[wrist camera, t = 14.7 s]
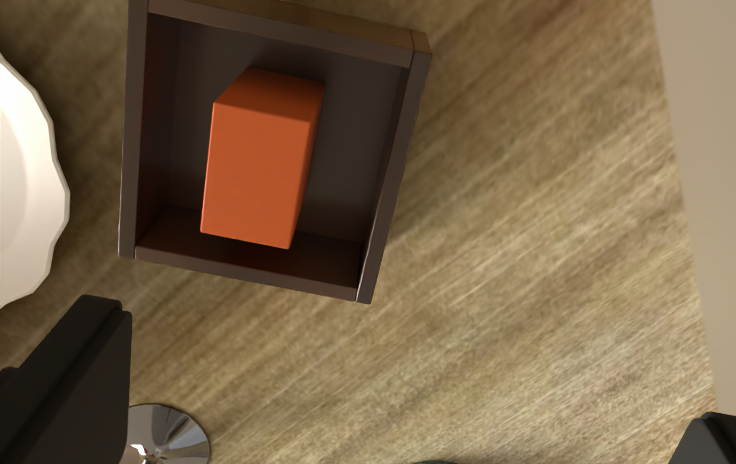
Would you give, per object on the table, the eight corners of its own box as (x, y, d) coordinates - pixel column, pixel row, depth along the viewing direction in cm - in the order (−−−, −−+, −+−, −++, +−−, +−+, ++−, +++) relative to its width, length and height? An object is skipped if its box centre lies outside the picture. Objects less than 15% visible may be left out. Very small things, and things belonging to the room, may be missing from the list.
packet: (326, 82, 32) (311, 122, 26) (306, 190, 35) (288, 250, 29) (247, 65, 32) (213, 101, 26) (233, 175, 35) (199, 232, 29)
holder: (425, 32, 32) (433, 53, 27) (373, 253, 37) (370, 305, 32) (170, -24, 31) (128, -13, 26) (154, 210, 36) (117, 256, 31)
